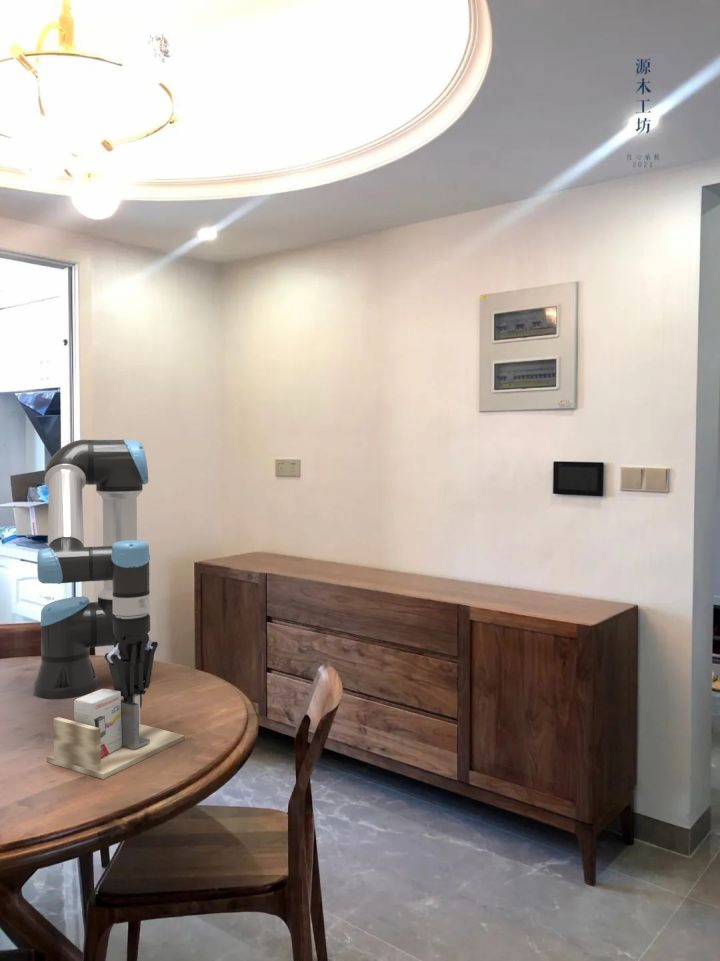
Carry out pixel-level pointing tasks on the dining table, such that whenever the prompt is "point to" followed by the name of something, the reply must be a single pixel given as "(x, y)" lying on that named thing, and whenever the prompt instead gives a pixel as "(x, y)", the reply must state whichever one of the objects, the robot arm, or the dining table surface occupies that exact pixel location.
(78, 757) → the rack
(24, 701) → the dining table surface
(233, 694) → the dining table surface
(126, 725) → the bookend
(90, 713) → the ink box
